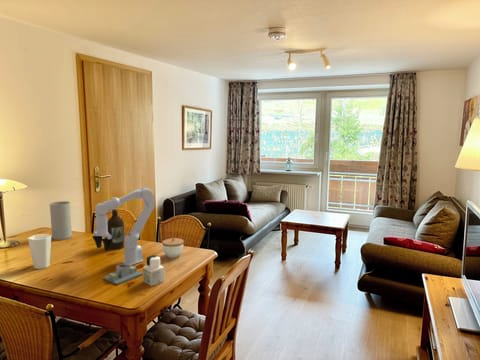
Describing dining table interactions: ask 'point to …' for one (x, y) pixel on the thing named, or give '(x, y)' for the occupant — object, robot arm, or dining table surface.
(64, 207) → the cylinder vase
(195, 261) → the dining table surface
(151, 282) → the container
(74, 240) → the dining table surface
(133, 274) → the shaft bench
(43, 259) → the cup
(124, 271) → the box
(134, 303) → the dining table surface
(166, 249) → the lidded bowl
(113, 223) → the olive oil
